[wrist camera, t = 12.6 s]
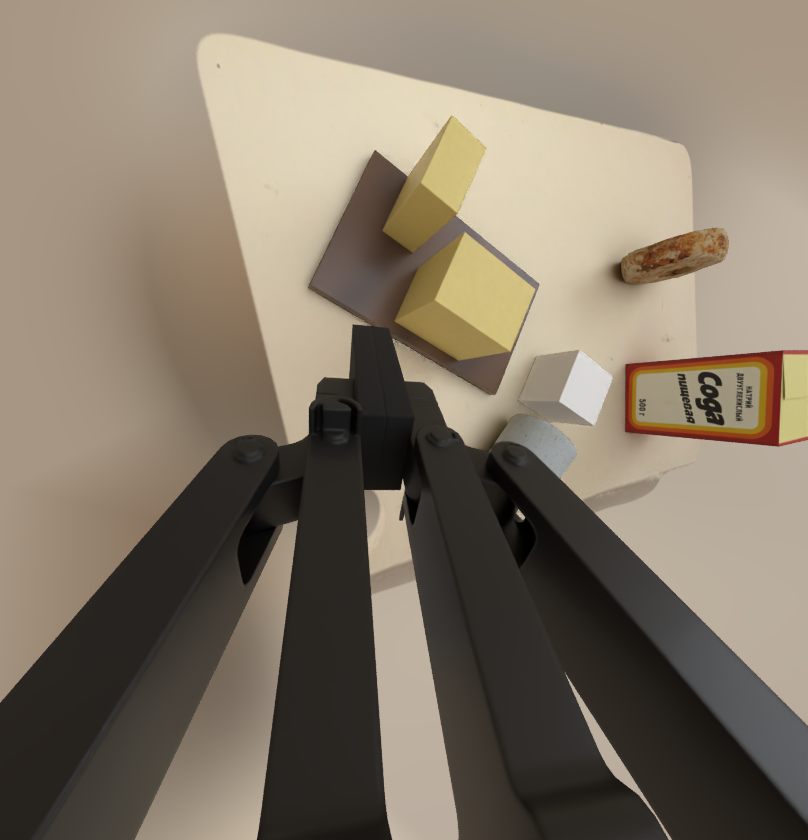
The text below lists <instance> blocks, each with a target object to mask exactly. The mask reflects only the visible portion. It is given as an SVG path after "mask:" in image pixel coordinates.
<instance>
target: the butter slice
mask: <svg viewBox="0 0 808 840" xmlns="http://www.w3.org/2000/svg"><path fill="white" fill-rule="evenodd" d="M485 151H486V147H485V146H484V145H483V144H482V143H481V142H480V141H478V140H477V139H476V138H475V137H474V136H473V135H472V134H471V133H470V132H469V131H468V130H467V129H466V128H465V127H464V126H463V125H462V124H461V123H460V122H459V121H458V120H457V119H456V118H455V117H454V116H451V117H450V118H449V120H448V121H447V122H446V124H445V125H444V127H443V128H442V129H441V131H440V132H439V134H438V135H437V136H436V138H435V139H434V141H433V142H432V143H431V145H430V146H429V148H428V149H427V150H426V152H425V153H424V155H423V156H422V157H421V159H420V160H419V162H418V163H417V164H416V166H415V167H414V169H413V170H412V171H411V173H410V174H409V176H408V177H407V179H406V181H405V183H404V186H403V188H402V190H401V192H400V194H399V196H398V198H397V200H396V202H395V205H394V207H393V209H392V211H391V213H390V215H389V217H388V219H387V222H386V224H385V226H384V228H383V232H384V233H386V234H387V235H389V236H390V237H391V238H393V239H394V240H396V241H397V242H398V243H400V244H401V245H402V246H404V247H405V248H407V249H408V250H409V251H411V252H412V253H413V252H415V251H416V250H417V249H418V248H419V247H420V246H421V245H422V244H424V243H425V242H426V241H427V240H428V239H429V238H430V237H432V236H433V235H434V234H435V233H436V232H437V231H438V230H439V229H441V228H442V227H443V226H444V225H445V224H446V223H447V222H448V221H450V220H451V219H452V218H453V217H454V216H455V215H456V214H457V213H458V212H459V209H460V207H461V205H462V203H463V200H464V198H465V196H466V194H467V191H468V189H469V187H470V185H471V182H472V180H473V178H474V176H475V173H476V171H477V169H478V167H479V164H480V162H481V160H482V158H483V155H484V153H485Z"/></svg>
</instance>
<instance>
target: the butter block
mask: <svg viewBox="0 0 808 840" xmlns="http://www.w3.org/2000/svg"><path fill="white" fill-rule="evenodd" d="M534 292H535V288H533V287H532V286H531V285H530V284H528V283H527V282H526V281H525V280H523V279H522V278H521V277H520V276H519V275H517V274H516V273H515V272H514V271H512V270H511V269H510V268H509V267H507V266H506V265H505V264H504V263H502V262H501V261H500V260H499V259H498V258H496V257H495V256H494V255H493V254H491V253H490V252H489V251H488V250H486V249H485V248H484V247H483V246H482V245H480V244H479V243H478V242H477V241H475V240H474V239H473V238H472V237H470V236H469V235H468V234H467V233H466V232H464V233H462V234H461V235H460V236H459V237H457V238H456V239H455V240H453V241H452V242H451V243H449V244H448V245H447V246H446V247H444V248H443V249H442V250H440V251H439V252H438V253H437V254H435V255H434V256H433V257H431V258H430V259H429V260H427V261H426V262H425V263H424V264H422V265H421V266H420V267H419V268H418V270H417V272H416V274H415V276H414V279H413V281H412V283H411V285H410V287H409V290H408V292H407V294H406V296H405V299H404V301H403V303H402V305H401V307H400V310H399V312H398V314H397V316H396V319H395V322H396V323H398V324H400V325H401V326H403V327H404V328H406V329H408V330H409V331H411V332H413V333H414V334H416V335H417V336H419V337H421V338H422V339H424V340H426V341H427V342H429V343H430V344H432V345H434V346H435V347H437V348H439V349H440V350H442V351H443V352H445V353H447V354H448V355H450V356H452V357H453V358H455V359H456V360H458V361H460V360H465V359H471V358H477V357H482V356H488V355H494V354H500V353H505V352H510V351H511V349H512V346H513V344H514V342H515V339H516V337H517V334H518V332H519V329H520V327H521V324H522V322H523V319H524V317H525V314H526V312H527V309H528V307H529V304H530V302H531V299H532V297H533V295H534Z"/></svg>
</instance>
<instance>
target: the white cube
mask: <svg viewBox="0 0 808 840" xmlns="http://www.w3.org/2000/svg"><path fill="white" fill-rule="evenodd" d="M612 379H613V377H612V376H611V375H610V374H609V373H607V372H606V371H605V370H604V369H603V368H601V367H600V366H599V365H598V364H596V363H595V362H594V361H593V360H591V359H590V358H589V357H588V356H586V355H585V354H584V353H583V352H582V351H580V350H576V351H569V352H562V353H555V354H548V355H540V356H537V357H536V359H535V361H534V364H533V366H532V369H531V371H530V373H529V376H528V378H527V381H526V383H525V385H524V388H523V390H522V393H521V395H520V397H519V400H518V401H519V402H521V403H522V404H524V405H526V406H527V407H529V408H530V409H532V410H533V411H535V412H536V413H538V414H539V415H541V416H542V417H544V418H546V419H547V420H549V421H550V422H555V423H567V424H579V425H590V426H595V423H596V421H597V418H598V415H599V413H600V410H601V407H602V405H603V402H604V400H605V397H606V394H607V392H608V389H609V387H610V384H611V381H612Z"/></svg>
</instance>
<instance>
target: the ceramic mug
mask: <svg viewBox="0 0 808 840" xmlns="http://www.w3.org/2000/svg"><path fill="white" fill-rule="evenodd" d="M501 441H510V442H514V443H518V444H520V445H523V446H525V447H527V448H528V449H529V450H531V451H532V452H533V453H534V454H535V455H536V456H537V457H538V458H539V459H540V460H541V461H542V462H544V463H545V464H546V465H547V466H548V467H549V468H550V469H551V470H552V471H553V472H554V473H555V474H556V475H557V476H558V477H559V478H561V476H562V475H563V474H564V472H565V471H566V470H567V468H568V467H569V466H570V464H571V463H572V462H573V460H574V459H575V457H576V455H577V449H576V447H575V445H574V444H573V443H572V441H571V440H570V439H569V438H568V437H567V436H566V435H565V434H564V433H563V432H561V431H560V430H559V429H558V428H556V427H555V426H553V425H551V424H550V423H547V422H545V421H543V420H542V419H539V418H537V417H533V416H530V415H525V414H517V415H515V416H513V417H512V418H511V419H510V421H509V423H508V424H507V426H506V427H505V428H504V430H503V431H502V433H501V434H500V436H499V437H498V439H497V440H496V442H495V443H498V442H501ZM495 443H494V444H495ZM490 450H491V449H490ZM489 452H490V451H489Z"/></svg>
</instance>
